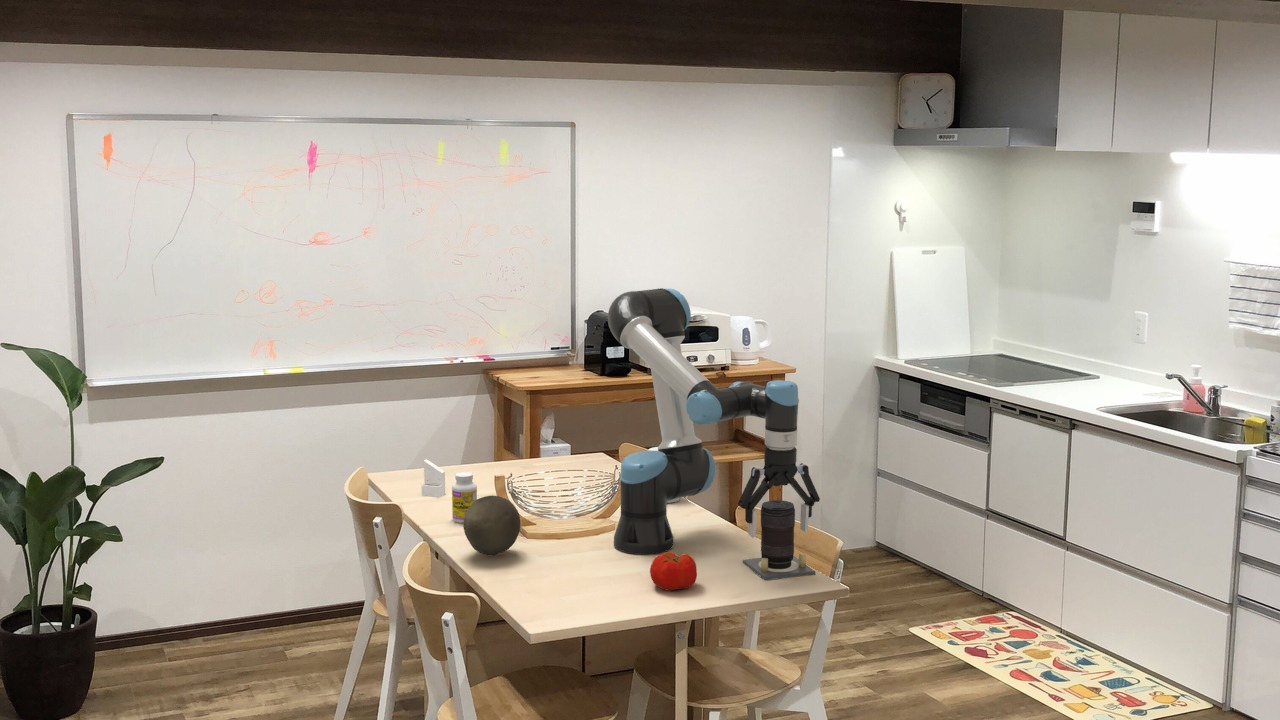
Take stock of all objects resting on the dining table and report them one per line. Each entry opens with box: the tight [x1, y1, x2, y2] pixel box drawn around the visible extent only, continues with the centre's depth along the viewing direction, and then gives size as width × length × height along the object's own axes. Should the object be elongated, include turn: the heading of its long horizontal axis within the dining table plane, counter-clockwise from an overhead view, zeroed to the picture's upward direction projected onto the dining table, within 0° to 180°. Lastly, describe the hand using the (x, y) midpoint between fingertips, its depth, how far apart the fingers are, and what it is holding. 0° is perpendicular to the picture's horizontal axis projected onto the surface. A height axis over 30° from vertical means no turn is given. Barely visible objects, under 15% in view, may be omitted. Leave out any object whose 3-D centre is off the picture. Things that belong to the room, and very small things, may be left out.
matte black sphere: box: [462, 495, 521, 557], centre depth 303 cm, size 14×14×15 cm
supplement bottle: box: [451, 471, 478, 524], centre depth 333 cm, size 7×7×13 cm
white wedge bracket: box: [421, 459, 446, 498], centre depth 358 cm, size 4×10×9 cm
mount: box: [742, 553, 816, 581], centre depth 294 cm, size 13×13×4 cm
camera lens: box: [760, 499, 796, 569], centre depth 293 cm, size 8×8×15 cm
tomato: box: [649, 551, 698, 591], centre depth 282 cm, size 11×11×8 cm
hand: (778, 533), depth 294 cm, fingers open, 13 cm apart
